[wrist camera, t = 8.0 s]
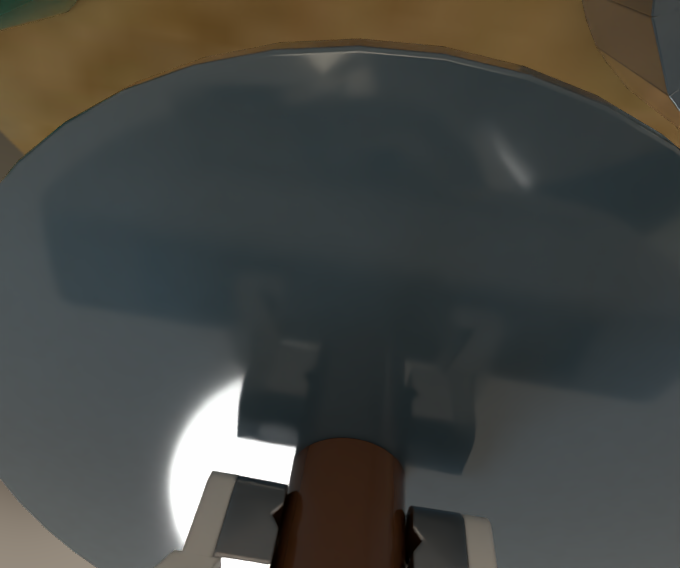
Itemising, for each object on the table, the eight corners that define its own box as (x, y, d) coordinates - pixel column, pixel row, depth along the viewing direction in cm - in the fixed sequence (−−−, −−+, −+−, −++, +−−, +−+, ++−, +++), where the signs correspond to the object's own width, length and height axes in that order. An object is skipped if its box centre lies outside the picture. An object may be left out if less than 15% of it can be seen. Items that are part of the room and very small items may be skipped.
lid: (1028, 135, 8) (1662, 354, 4) (577, 654, 17) (627, 871, 13) (-137, -59, 8) (-672, -38, 4) (51, 562, 17) (-53, 750, 13)
